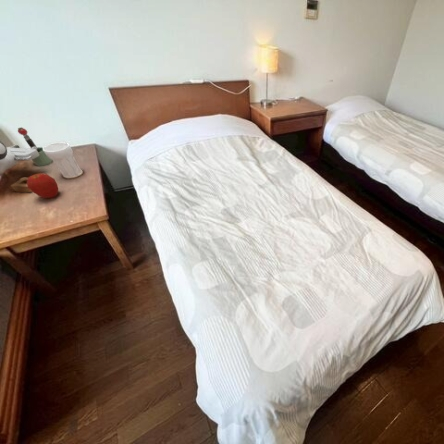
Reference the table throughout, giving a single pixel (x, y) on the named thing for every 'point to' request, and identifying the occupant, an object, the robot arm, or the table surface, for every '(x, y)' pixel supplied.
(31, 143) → the strawberry fork
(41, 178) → the red ovoid fruit
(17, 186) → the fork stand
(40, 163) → the dessert cup
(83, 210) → the table surface
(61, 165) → the cup
